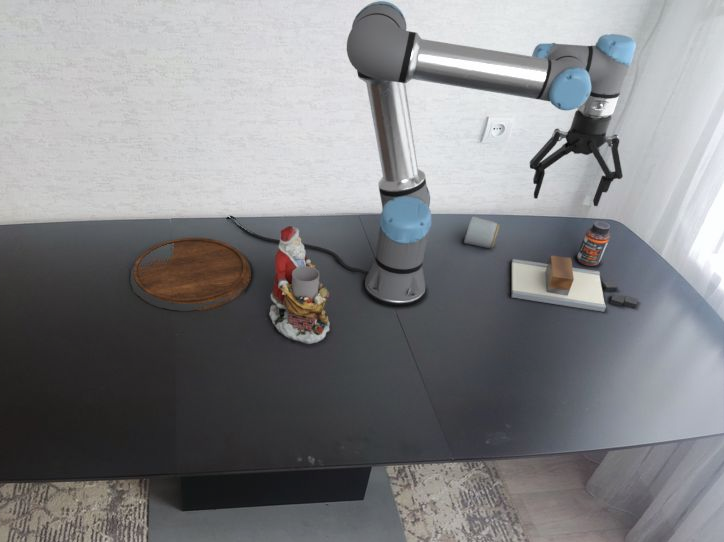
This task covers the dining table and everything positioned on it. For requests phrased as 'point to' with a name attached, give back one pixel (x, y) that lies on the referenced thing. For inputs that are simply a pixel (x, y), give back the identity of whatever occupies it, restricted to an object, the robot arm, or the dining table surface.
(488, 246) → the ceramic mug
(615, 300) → the grey block
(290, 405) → the dining table surface
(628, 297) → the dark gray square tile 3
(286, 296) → the santa figurine
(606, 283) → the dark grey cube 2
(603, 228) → the supplement bottle
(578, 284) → the whiteboard
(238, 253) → the cutting board
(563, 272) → the eraser
